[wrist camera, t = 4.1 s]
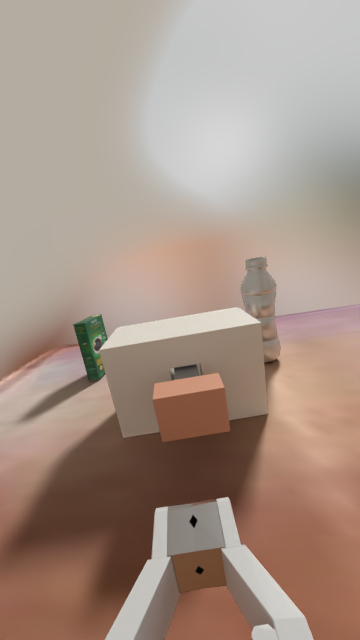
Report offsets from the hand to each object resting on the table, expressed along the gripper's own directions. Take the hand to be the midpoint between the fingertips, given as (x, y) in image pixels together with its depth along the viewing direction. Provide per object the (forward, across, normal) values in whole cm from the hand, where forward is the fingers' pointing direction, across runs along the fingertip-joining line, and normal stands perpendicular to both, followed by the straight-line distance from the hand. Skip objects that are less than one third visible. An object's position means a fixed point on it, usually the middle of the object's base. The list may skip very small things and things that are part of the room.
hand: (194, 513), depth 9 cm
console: (+24, 0, +12) cm, 27 cm away
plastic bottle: (+35, -16, +12) cm, 41 cm away
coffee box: (+42, +19, +12) cm, 48 cm away
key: (+17, 0, +7) cm, 19 cm away
